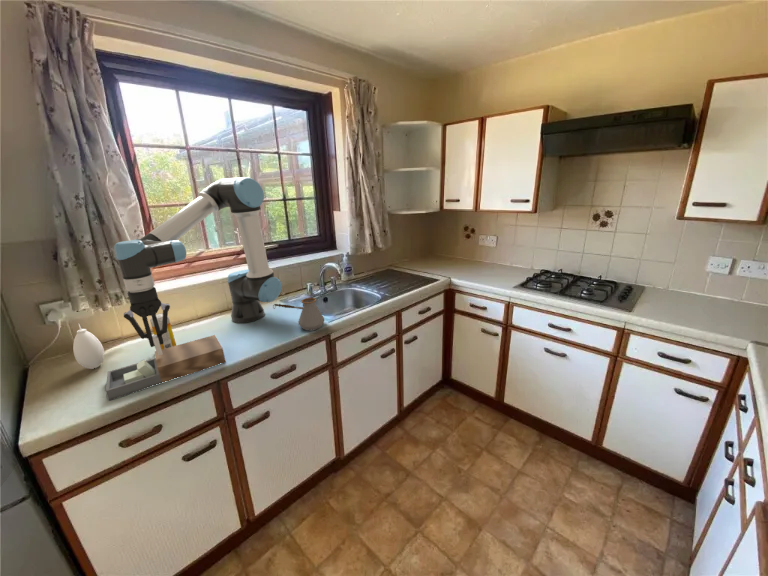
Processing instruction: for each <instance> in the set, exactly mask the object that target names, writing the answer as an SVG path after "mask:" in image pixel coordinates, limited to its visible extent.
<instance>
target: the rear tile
mask: <svg viewBox="0 0 768 576" xmlns="http://www.w3.org/2000/svg"><path fill="white" fill-rule="evenodd" d="M146 361H147V360H145V359H143V360H141V361H139V362H137V363H138V364H137V370H138V371H139V372H140V373H142V374H143V375H144V376H145V377H149V376H152V375H156V373H155V369H154V368H153V367H152V366H151V365H150V364H148V363H147V362H146Z"/></svg>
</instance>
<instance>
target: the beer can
mask: <svg viewBox="0 0 768 576" xmlns="http://www.w3.org/2000/svg"><path fill="white" fill-rule="evenodd" d="M156 317H157V321H158V324H159V328H160V330H161V329H162V320H163V312H162V313H156ZM170 321H171V320H170V317H169V316H168V319H167V332H166V333H164V334H162V338H163V342H164V343H163V344H161V345H160V346H161V350H162V349H166V348H169V347H173V346H177V343H176V340H175V335H174V331H173V329H172V328H173V327H172V324H171V322H170ZM149 322H150V326H151V329H152V332H153V335H157V333H156V330H155V326H154V323H153V319H152V316H150V319H149Z"/></svg>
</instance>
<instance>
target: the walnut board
mask: <svg viewBox="0 0 768 576" xmlns="http://www.w3.org/2000/svg"><path fill="white" fill-rule="evenodd" d="M154 358H156V363H157V368H158V371H159V375H160V378H161V381H162V382H165V381H168V382H170V381H169V380H171V379H174V378H177V377H180V378H182V377H181V376H183V377H186V376H188V375H187V374H189V375H191V373H192V374H195V373H198V372H202V371H204V370H203V369H205V370H208V369H209V367H211V368H213V367H212V366H214V367H216V366H215V365H217V366H219V365H218V364H220V363H223V364H225V363H224V362H227V361H226V358H225V353H224V349H223V346H222V345H221V343H220V341H219V339H218V338H217V336H216V335H215V334H213V335H210V336H205V337H202V338H199V339H195V340H192V341H191V340H190V341H187V342H184V343H181V344H176V346H173V347H169V348H166V349H162V355H157V352H156V350H155V351H154ZM220 365H221V364H220ZM207 368H208V369H207ZM201 370H202V371H201ZM194 372H195V373H194ZM185 375H186V376H185ZM177 379H178V378H177ZM174 380H175V379H174ZM171 381H172V380H171ZM165 383H166V382H165Z"/></svg>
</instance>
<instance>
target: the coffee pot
mask: <svg viewBox="0 0 768 576" xmlns="http://www.w3.org/2000/svg"><path fill="white" fill-rule="evenodd" d="M316 302H317V298H315V297H305V298H304V299H302V300H301V303H302V305H303V306H294V305H289V304H281V303H279V304H278V303H273V305H272V308H273V310H275V309H276V307H278V308H280V307H282V308H285V309H286V308H287V309H297V310H301V312H300V315H299V319H298V321H297V322H298V323H297V324H298V325H299V327H300V328H302V329H303V330H305V331H310V332H311V331H316V330H318V329H320V328H321V327H322V326H323V324H324V323H325V317H324V316H323V314H322V313H321V310H320V309H319V308H318V306H317V304H316Z"/></svg>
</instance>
